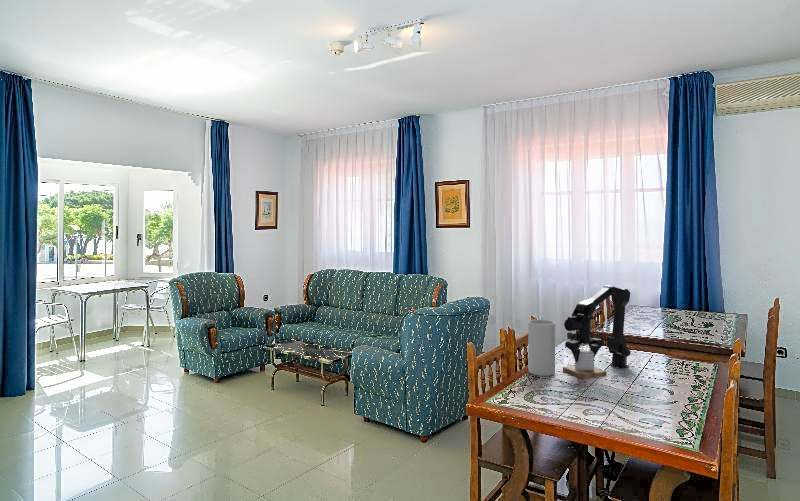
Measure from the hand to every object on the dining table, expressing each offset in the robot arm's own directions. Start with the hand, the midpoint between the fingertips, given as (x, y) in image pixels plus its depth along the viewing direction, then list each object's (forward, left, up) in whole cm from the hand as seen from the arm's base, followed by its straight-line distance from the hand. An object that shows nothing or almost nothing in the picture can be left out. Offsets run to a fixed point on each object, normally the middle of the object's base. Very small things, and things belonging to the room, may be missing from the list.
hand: (584, 361), depth 233 cm
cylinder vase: (+18, -9, -6) cm, 21 cm away
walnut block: (0, 0, -6) cm, 6 cm away
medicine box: (0, 0, -4) cm, 4 cm away
